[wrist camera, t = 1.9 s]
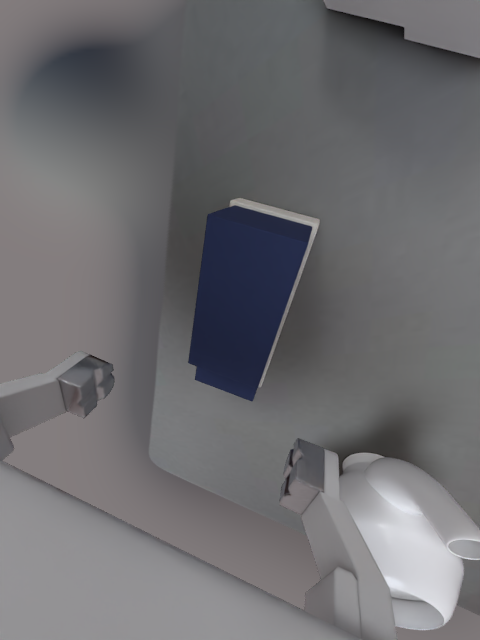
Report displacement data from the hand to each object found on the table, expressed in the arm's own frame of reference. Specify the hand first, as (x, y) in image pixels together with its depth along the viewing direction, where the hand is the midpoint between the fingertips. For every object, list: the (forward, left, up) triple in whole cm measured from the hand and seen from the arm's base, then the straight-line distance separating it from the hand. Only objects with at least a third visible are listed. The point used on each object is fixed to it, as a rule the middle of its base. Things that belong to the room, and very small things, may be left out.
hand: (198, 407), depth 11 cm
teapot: (+20, -1, -11) cm, 22 cm away
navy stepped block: (0, 0, -11) cm, 10 cm away
